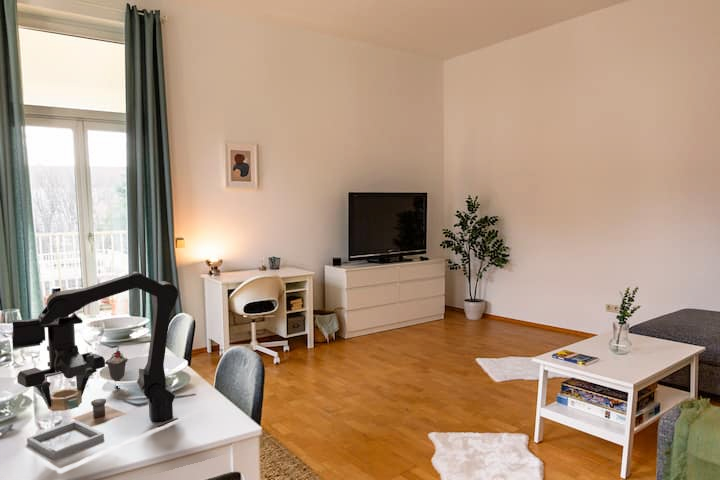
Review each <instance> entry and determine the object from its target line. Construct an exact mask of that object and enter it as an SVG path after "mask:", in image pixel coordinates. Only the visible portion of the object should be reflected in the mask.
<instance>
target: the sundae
mask: <svg viewBox="0 0 720 480" xmlns="http://www.w3.org/2000/svg"><path fill="white" fill-rule="evenodd" d="M119 349H120V347H119V346H118V347H117V349H116V352H113V354H112V355H111V357H110V358H109V359H107V360H105V365H107V367H108V371H109V376H110V379H112V380H114V381H115V382H116V381H120V382H121V380H122V379H123V378H124V377H125V371H126V363H127V362H128V361H129V359H128V358H127V357H125V356H124V355H123V353H122V352H121V351H120V350H119ZM114 389H115V390H118V386H116V385H115V387H114Z"/></svg>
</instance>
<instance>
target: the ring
mask: <svg viewBox="0 0 720 480" xmlns="http://www.w3.org/2000/svg"><path fill="white" fill-rule="evenodd" d="M50 397H51V407H48V406H47V409H49V410H50V411H52V412H60V411H61V412H62V411H63V412H64V411H68V410H73V409H76V408H79V406H80V405H81V404H82V403H83V395H82V393H81V390H79V389H77V387H76V388H73V387H72V388H62V389H60V390H56V391H53V392H50Z"/></svg>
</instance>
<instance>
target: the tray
mask: <svg viewBox="0 0 720 480" xmlns="http://www.w3.org/2000/svg"><path fill="white" fill-rule="evenodd" d="M72 429H76V430H78V431H80V432H82V433H84V434H86V435H88V436H91V437H88V438H86V439H84V440H81V441H78V442H76V443H73V444H70V445H68V446H66V447H63V448H61V449H58V450H54V449H53V448H51V447H50V446H47V444H44V443H42V442H41V441H43V440H46V439H48V438H51V437H54V436H57V435H59V434H62V433H65V432H67V431H70V430H72ZM104 435H105V434H104V433H103V432H101V431H99V430H97V429H94V428H92V427H90V426H88V425H86V424H84V423H82V422H79V421H77V420H73V421H70V422H68V423H65V424H63V425H60V426H57V427H54V428H51V429H49V430H46V431H43V432H40V433H38V434H34V435H32V436H29V437H27V438H26V443H27V445H28V446H30V447H31V448H34V449H35V450H37V451H38V452H40V453H42V454H44V455H45V456H48V457H49V458H50V459H52V460H54V461H55V460H57V459H60V458H62V457H65V456H68V455H70V454H72V453H74V452H77V451H80V450H83V449H84V448H88V447H90V446H92V445H94V444H96V443H99V442H102V441H104V440H105V437H104Z"/></svg>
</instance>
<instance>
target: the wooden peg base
mask: <svg viewBox="0 0 720 480" xmlns="http://www.w3.org/2000/svg"><path fill="white" fill-rule="evenodd" d="M90 403H91V404H90V405H91V406H92V410H91V411H88V412H86V413H83V414H80V415H77V416H75V417H72V419H73V420H74V421H78V422H80V423H82V424H84V425H86V426H88V427H90V428H92V427H96V426H98V425H100V424H102V423H105V422H108V421H110V420H113V419H117V418H119V417H122V416H124V415H126V414H127V413H126V412H123V411H121V410H118V409H115V408H113V407H110V406H109V405H105V404H106V403H107V399H106V398H97V399H96V398H95V399H94V400H92V401H91V402H90Z"/></svg>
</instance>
